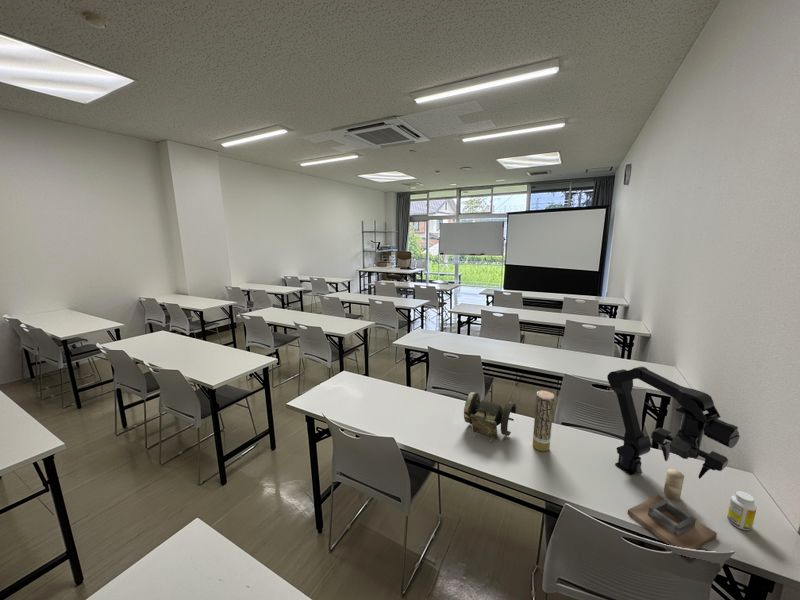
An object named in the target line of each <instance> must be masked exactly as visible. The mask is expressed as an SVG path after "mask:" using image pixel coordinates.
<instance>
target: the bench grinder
mask: <svg viewBox="0 0 800 600" xmlns="http://www.w3.org/2000/svg"><path fill="white" fill-rule="evenodd" d="M464 404H465V405H464V407H463V419H464V422H466V423H468V424H470V425H471V430H472V433H473V437H475V436H476V435H475V434H479V435H481V436H484V437H487V438H491V439H490V440H489V443H491V441H493V440H498V439H499V437H498V427H497V426H499V425H500V434H501V435H503V436H507V437H509V436H510V435H511V433H512V432H511V431H509V430H508V427H509V426H508V425H509V421H512V422H514V418H512V417H510V415H511V413H512V414H516V412H517V406H516V403H513V402H511V401H507V402H506V403H505V405H504V408H503V407H502V406H501V405H500V404H498V403H494V402H491V401H488V400H481V396H480V394H479V393H478V392H474V391H471V392H470V393H469V394H467V398H466V400H465V403H464Z"/></svg>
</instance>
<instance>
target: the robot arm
mask: <svg viewBox="0 0 800 600" xmlns="http://www.w3.org/2000/svg"><path fill="white" fill-rule="evenodd" d="M606 376H607V381H608V384H609V387H610V389H611V390H612V391H613V392H614V393H615V394H616V398H617V402H618V405H619V409H620V414H621V418H622V421H623V426H624V431H625V432H624V434H623V435H624V436H623V439H622V440H623V441H622V442H623V445H621V446H618V447H616V453H617V454H618V460H617V462H615V464H614V465H615V466H617V467H618V468H619V469H621V470H622V471H624V472H625V473H627V474H629V475H630V476H632V475H633V476H634V475H636V474H638V473H640V472H642V471H643V469H642V464H643V463H642V457H641V456H644V455H646V454H648V453H650V451H651V448H652V447H653V446H652V444H651V441H650V439H652V440H654V442H655V443H656V444H658V445H659V446H660V448H661V450H662V455H663V458H664V459H663V460H664V461H665V462H668V460H669V459H670V458H669V457H670V454H674V455H676V456H678V457H680V458H682V459H684V460H688V459H689V458H690V459H692V458H693V459H695V460H696V459H698V458H699V457H701V458H703V459H704V462H703V463H702V467H701V469H700V472H699V474H698V479H699V480H701V478H703V476H704V475H705V474H706V473H707V472H708V471H710V470H712V471H718V472H722V471H723V470H724V469H726V467H727V466H728V464H729V459H728V457H727V456H724V455H723V454H720V453H718V452H716V451H714V450H712V451H711V452H710V453H708V452H707V451H704V450H701V446H702V441H703V437H704V436H706V437H707V438H708V439H710V440H713V441H715V442H717V443H719V444H721V445H723V446H725V447H727V448H729V449H733V448H734V447H736V445H737V444H738V442H739V439H740V432H739V430H738V429H739V427H738V426H736V425H735V424H731V423H728V422H725V421H723V420H721V419H720V418H721V414H720V413H719V412H718V410H717V408H716V406H715V403H714V400H713V398H712V396H711V395H710V394H708V393H706V392H704V391H700V390H698V389H694V388H691V387H685V386H683V385H680V384H678V383H676V382H674V381H671V380H670V379H668V378H666V377H664V376H662V375H660V374H657V373H656V372H654V371H651V370H650V369H648V368H647V367H644V366H638V367H633V368H631V369H628V370H627V369H623V368H622V369H618V370H613V371H610V372H609V373H608V374H607V375H606ZM634 380H640V381H641V382H643V383H645V384H648V385H649V386H651V387H653V388H655V389H657V390H658V391H660V392H662V393H664V394H666V395H667V396H670V397H671V398H672V399H674V400H675V401H676V402H677V404H679V407H676V408H675V411H677V412H678V413H681V414H682V417H681V418H682V419H681V422H680V427H679V429H678V430H677V433H676V435H675V436H673V432H671V431H669V430H667V429H664V428H662V427H658V428H656V429H654V430H653V431H652V433H651V436H649V435H645V434H644V433H643V432H642V430H641V428H640V424H639V423H640V422H639V419H638V414H637V411H636V408H635V407H636V406H635V402H634V399H633V396H632V395H633V394H632V391H633V387H634ZM704 412H707V413H704Z"/></svg>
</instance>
